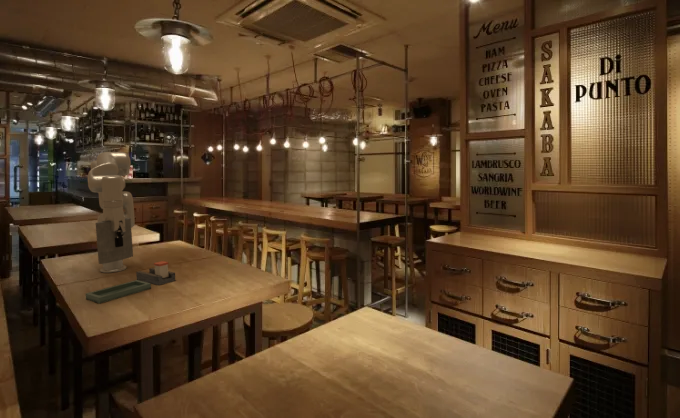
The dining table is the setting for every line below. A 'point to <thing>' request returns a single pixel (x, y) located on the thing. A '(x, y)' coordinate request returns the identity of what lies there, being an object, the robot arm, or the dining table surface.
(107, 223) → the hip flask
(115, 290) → the tray
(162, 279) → the switch panel
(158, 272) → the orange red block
